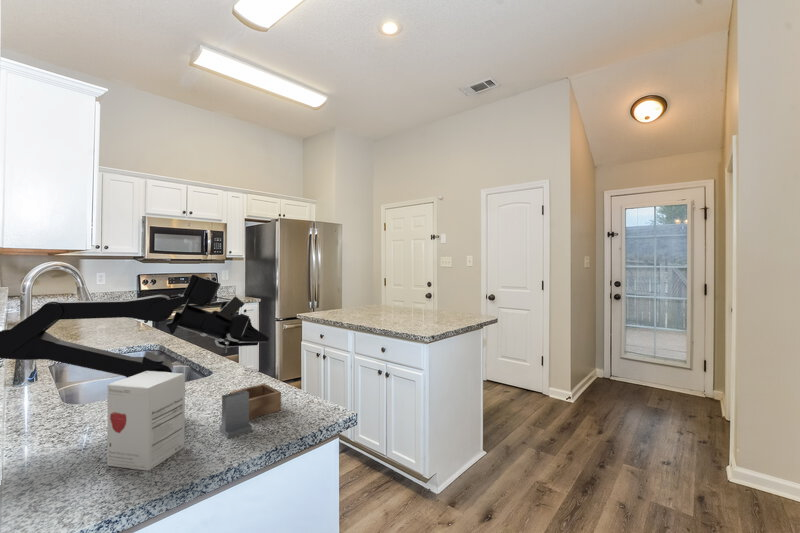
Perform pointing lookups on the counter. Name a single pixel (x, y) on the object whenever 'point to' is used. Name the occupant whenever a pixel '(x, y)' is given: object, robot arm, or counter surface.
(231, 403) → the bracket
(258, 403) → the square frame
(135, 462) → the supplement box
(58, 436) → the counter surface
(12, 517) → the counter surface
